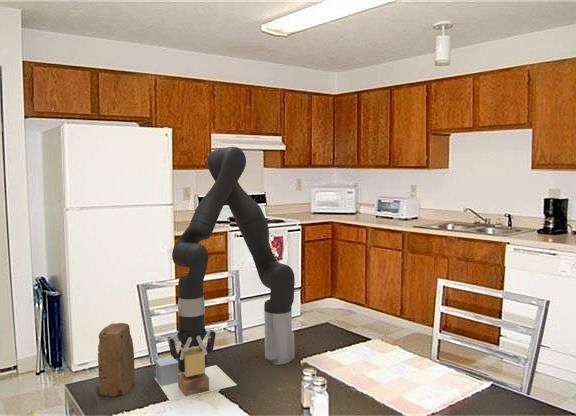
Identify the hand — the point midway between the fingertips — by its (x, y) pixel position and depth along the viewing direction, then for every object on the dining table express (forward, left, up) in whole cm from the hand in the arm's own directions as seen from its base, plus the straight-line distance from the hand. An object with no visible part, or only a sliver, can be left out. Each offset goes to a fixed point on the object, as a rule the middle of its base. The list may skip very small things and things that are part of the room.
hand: (192, 368), depth 144 cm
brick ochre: (0, 0, -1) cm, 1 cm away
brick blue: (+5, -9, -6) cm, 12 cm away
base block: (0, 0, -6) cm, 6 cm away
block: (+19, -11, -7) cm, 23 cm away
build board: (-2, -4, -7) cm, 9 cm away
